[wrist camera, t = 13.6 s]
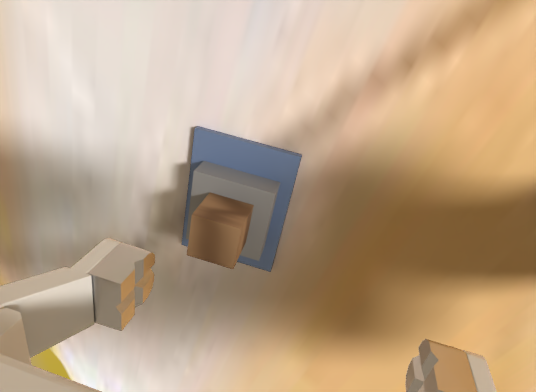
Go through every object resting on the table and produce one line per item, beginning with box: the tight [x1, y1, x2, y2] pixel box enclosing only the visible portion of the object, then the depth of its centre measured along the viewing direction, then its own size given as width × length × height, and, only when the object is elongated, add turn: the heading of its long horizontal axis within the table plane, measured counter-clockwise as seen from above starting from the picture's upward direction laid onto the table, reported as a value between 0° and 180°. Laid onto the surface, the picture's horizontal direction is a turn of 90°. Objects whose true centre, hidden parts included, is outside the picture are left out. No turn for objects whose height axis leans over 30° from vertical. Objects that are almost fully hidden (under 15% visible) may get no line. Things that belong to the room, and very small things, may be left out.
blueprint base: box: [182, 126, 302, 272], centre depth 43 cm, size 12×16×4 cm
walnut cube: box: [187, 192, 254, 269], centre depth 39 cm, size 5×5×5 cm
